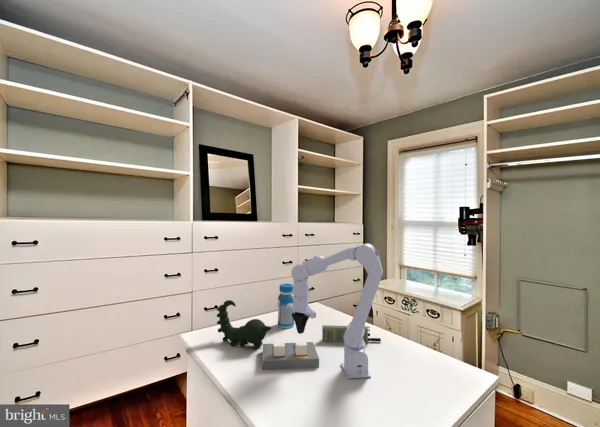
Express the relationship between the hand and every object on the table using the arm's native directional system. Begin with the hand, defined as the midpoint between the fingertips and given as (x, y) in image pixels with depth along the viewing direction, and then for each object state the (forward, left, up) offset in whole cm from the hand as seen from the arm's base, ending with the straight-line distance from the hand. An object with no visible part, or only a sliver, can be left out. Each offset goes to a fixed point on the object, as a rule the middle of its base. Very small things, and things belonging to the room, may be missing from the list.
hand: (300, 332), depth 106 cm
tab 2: (-2, 0, -7) cm, 7 cm away
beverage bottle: (+35, +3, -10) cm, 37 cm away
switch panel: (+1, +4, -10) cm, 11 cm away
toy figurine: (+15, +22, -10) cm, 29 cm away
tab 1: (-2, +8, -7) cm, 11 cm away
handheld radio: (+14, -24, -11) cm, 30 cm away
